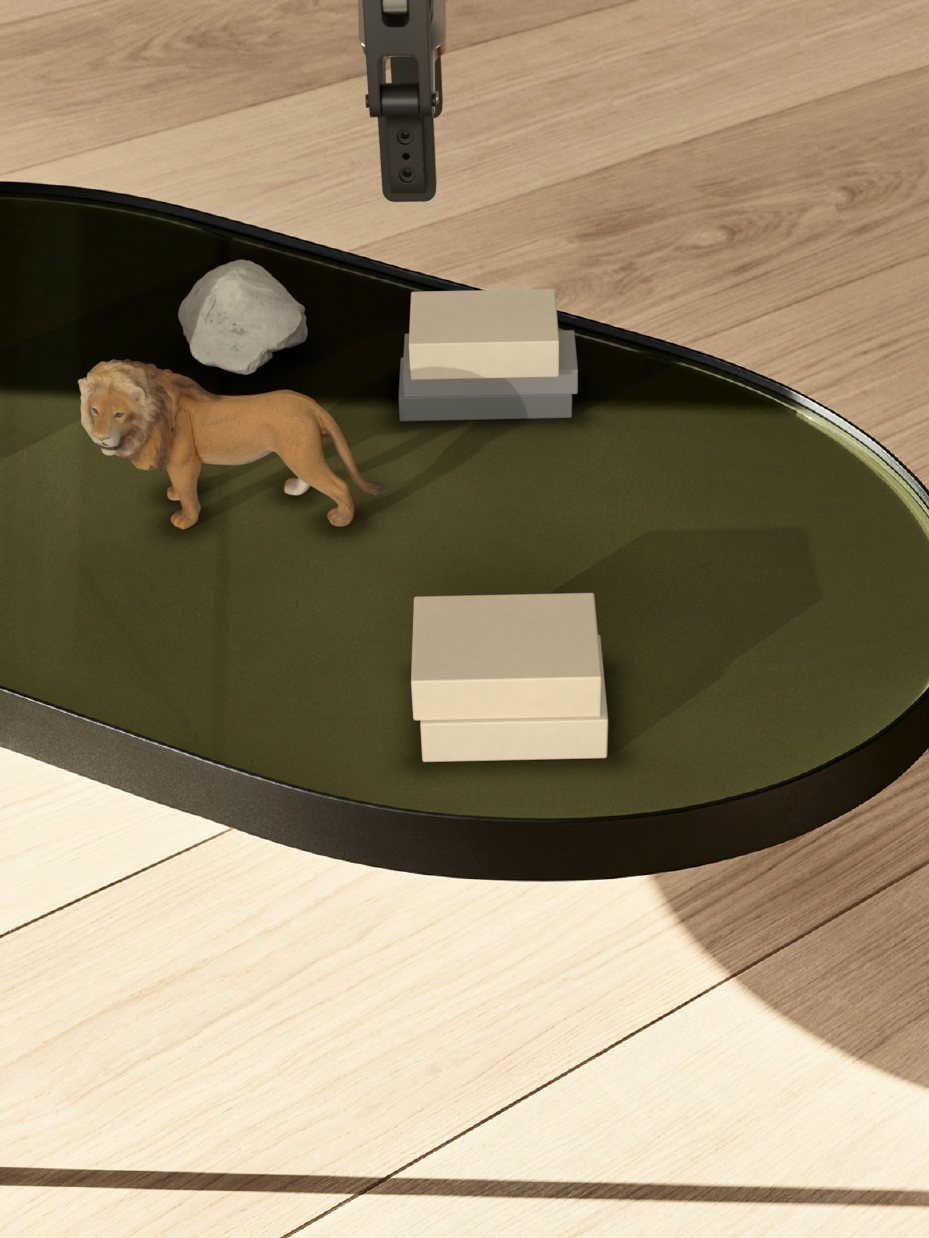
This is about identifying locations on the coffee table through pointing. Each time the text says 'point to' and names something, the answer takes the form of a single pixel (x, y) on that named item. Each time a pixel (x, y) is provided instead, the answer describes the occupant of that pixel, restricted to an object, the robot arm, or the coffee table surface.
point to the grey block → (491, 392)
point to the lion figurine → (212, 433)
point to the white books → (508, 677)
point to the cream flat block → (483, 334)
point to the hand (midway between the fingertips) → (414, 155)
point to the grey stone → (240, 317)
